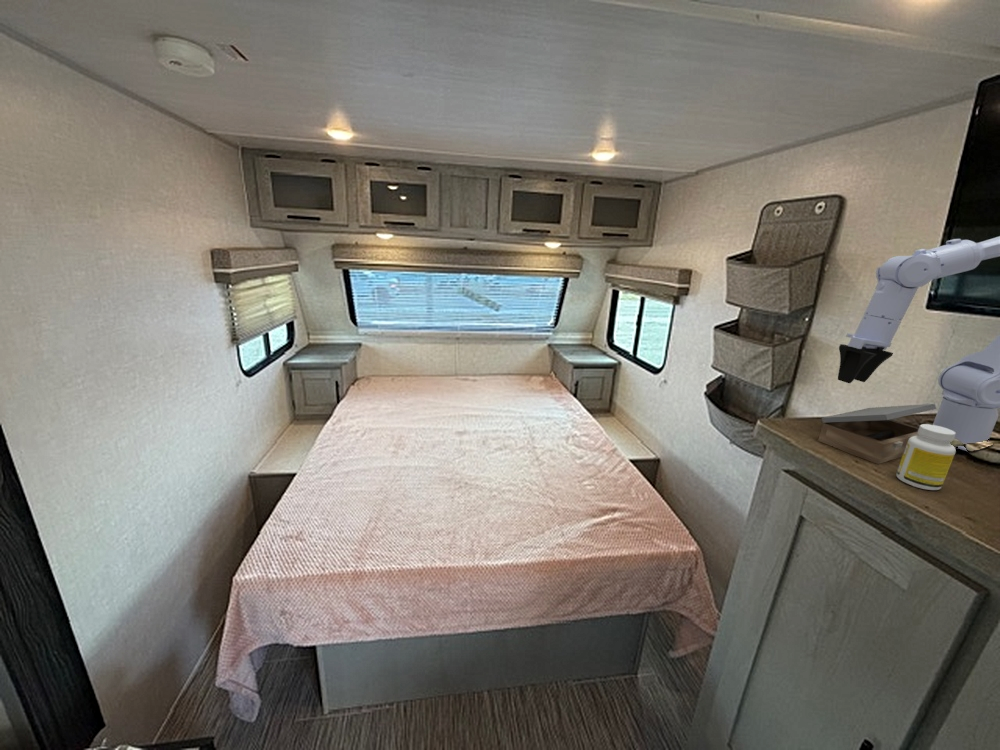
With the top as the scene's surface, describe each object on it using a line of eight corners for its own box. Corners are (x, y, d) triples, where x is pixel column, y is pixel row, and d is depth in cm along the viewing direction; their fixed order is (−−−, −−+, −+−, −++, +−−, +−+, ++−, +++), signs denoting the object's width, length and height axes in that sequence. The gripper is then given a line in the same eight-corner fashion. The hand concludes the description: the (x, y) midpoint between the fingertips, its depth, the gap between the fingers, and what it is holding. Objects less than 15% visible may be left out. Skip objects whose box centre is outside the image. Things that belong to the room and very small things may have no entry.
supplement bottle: (950, 493, 63) (973, 437, 61) (911, 489, 64) (931, 434, 62) (923, 475, 68) (943, 423, 66) (887, 472, 70) (904, 420, 67)
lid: (870, 412, 86) (869, 407, 86) (936, 408, 76) (934, 403, 76) (822, 422, 80) (821, 417, 80) (887, 420, 70) (885, 414, 70)
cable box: (864, 429, 87) (869, 413, 86) (928, 451, 77) (935, 432, 76) (818, 440, 81) (823, 422, 80) (880, 465, 72) (887, 445, 71)
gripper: (870, 314, 86) (842, 373, 90) (843, 310, 78) (814, 374, 83) (913, 323, 80) (881, 385, 85) (889, 319, 73) (855, 387, 77)
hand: (851, 381), depth 83 cm, fingers open, 7 cm apart
